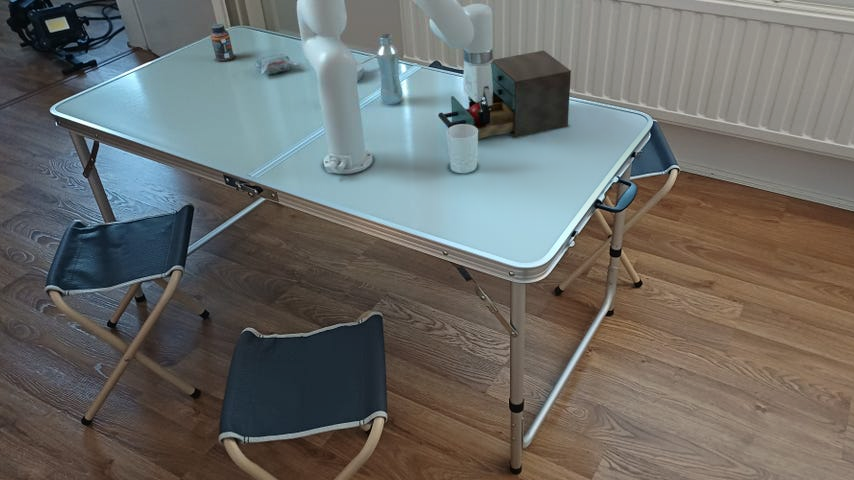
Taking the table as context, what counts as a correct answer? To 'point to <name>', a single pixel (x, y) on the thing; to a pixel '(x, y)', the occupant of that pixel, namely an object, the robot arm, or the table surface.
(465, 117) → the drawer
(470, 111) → the apple
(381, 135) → the table surface
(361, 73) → the small pan
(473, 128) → the white cup
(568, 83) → the cabinet
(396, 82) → the silver water bottle
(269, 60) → the packaged food
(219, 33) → the supplement bottle
